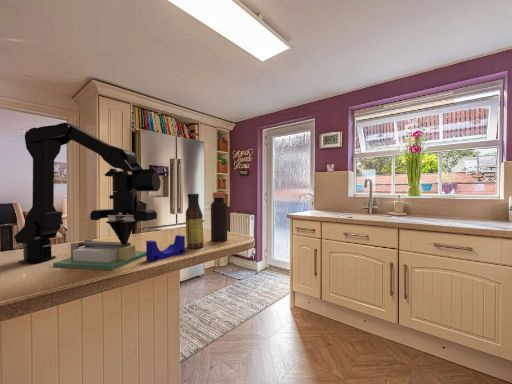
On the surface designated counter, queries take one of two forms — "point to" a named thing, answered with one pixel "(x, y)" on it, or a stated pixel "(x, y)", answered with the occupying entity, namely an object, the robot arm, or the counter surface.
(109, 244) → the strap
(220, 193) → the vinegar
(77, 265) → the board
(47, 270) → the counter surface
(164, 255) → the blue cradle block
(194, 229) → the sauce bottle
